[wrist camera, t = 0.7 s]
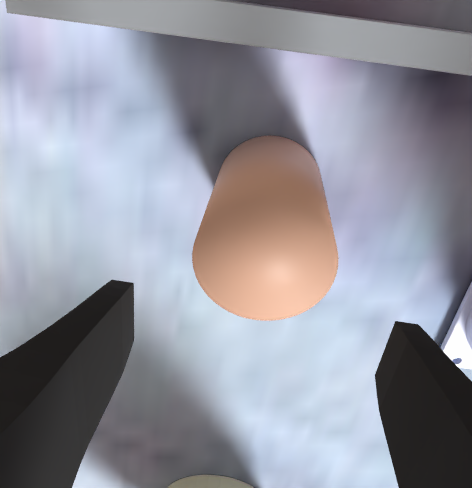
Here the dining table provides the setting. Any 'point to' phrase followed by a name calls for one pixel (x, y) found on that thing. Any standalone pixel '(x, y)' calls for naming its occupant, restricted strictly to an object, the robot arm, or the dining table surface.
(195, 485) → the reusable coffee cup
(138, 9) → the grey long flat bar
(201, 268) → the terracotta cylinder
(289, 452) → the dining table surface
